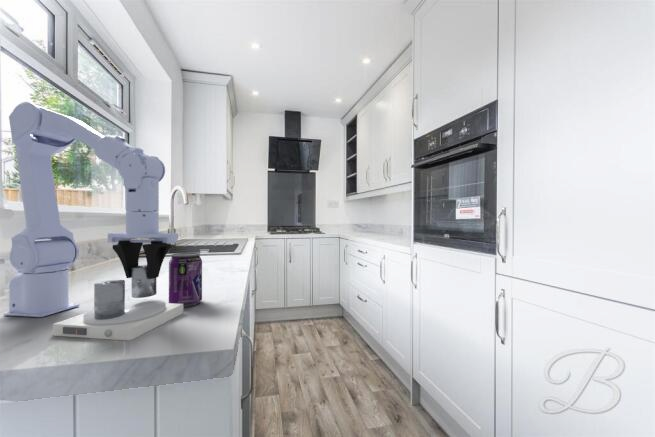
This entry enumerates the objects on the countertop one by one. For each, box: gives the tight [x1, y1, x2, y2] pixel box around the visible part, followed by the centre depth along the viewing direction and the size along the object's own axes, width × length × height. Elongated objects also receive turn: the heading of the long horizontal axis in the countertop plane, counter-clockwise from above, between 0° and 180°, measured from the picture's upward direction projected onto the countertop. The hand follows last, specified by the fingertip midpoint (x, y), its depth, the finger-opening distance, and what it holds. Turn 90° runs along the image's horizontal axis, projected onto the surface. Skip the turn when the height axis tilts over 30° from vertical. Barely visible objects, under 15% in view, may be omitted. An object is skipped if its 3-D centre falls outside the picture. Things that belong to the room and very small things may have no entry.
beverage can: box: [168, 251, 203, 308], centre depth 68 cm, size 7×7×12 cm
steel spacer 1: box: [93, 279, 126, 320], centre depth 52 cm, size 4×4×6 cm
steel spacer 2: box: [130, 264, 157, 299], centre depth 60 cm, size 4×4×6 cm
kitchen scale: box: [52, 298, 184, 341], centre depth 55 cm, size 15×14×3 cm
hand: (142, 277), depth 59 cm, fingers closed on steel spacer 2, 4 cm apart
